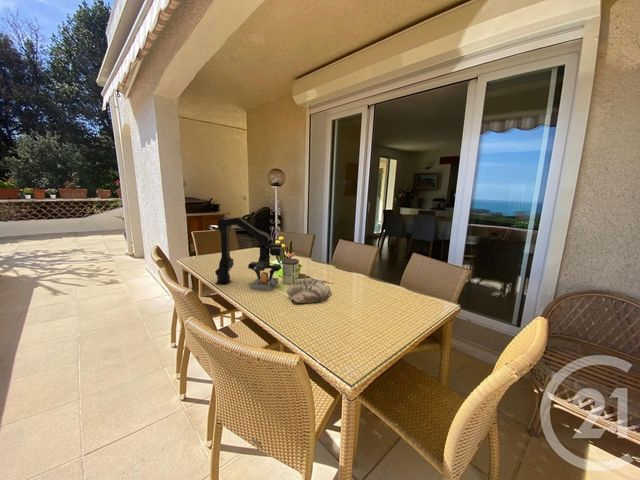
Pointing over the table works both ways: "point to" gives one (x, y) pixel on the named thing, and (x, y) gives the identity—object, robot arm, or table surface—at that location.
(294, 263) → the coffee can
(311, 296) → the seashell
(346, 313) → the table surface
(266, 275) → the tall orange box
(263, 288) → the rosette plate
